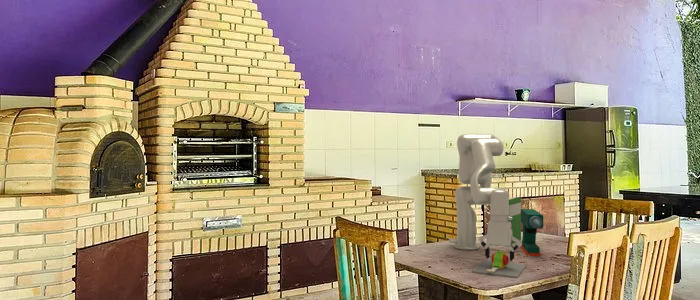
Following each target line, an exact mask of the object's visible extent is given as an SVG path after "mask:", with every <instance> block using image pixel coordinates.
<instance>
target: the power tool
mask: <svg viewBox="0 0 700 300" xmlns="http://www.w3.org/2000/svg"><path fill="white" fill-rule="evenodd" d="M521 224H522V236H521V244H520V249H521V250H522V251H523V252H524V253H525V255H526V256H534V257H535V256H536V257H542V253H541V251H540V246H539V245H538V244H537V234H538V233H537V231H538V230H543V228H544V214H542V213H540V212H539V211H538V210H536V209H534V208H521ZM537 229H538V230H537Z"/></svg>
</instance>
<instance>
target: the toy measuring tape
mask: <svg viewBox="0 0 700 300" xmlns="http://www.w3.org/2000/svg"><path fill="white" fill-rule="evenodd" d="M491 261H492V263H493V265H492V269H491V270H489V269H487V273H493V272H494V271H495V270H497V269H502V268H504V267H505V266H506V265H508V263H510V256H508V255H507V253H506V252H505V251H501V250H497V251H495V252H494V253H493V254H492V255H491Z"/></svg>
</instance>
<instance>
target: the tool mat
mask: <svg viewBox="0 0 700 300" xmlns="http://www.w3.org/2000/svg"><path fill="white" fill-rule="evenodd" d="M492 265H493V263H492V260H488V259H483V260H482V261H481V262H480V263H479V264H478V265H477V266H475V267H474V268H473V269H472V270H471V273H472V274H473V273H474V274H480V273H481V275H488V274H489V276H496V275H498V277H504V278H514V279H518V278H519V277H520V275H521V274H522V273H523V271H524V270H525V268H526V267H527V264H524V263H515V262H509V263H508V265H506V266H505V267H504V268H502V269H497V270H495V271H494V272H493V273H487V269H489V270H491V269H492Z"/></svg>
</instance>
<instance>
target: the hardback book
mask: <svg viewBox="0 0 700 300" xmlns="http://www.w3.org/2000/svg"><path fill="white" fill-rule="evenodd" d="M521 209H522V196H517V197H509V216H510V217H512V220H509V222H511V226H512V235H513V237H515V238H516V239H518V240H520V241H522V222H521ZM513 244H517V243H516V242H515V241H513V243H512V245H513Z"/></svg>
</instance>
